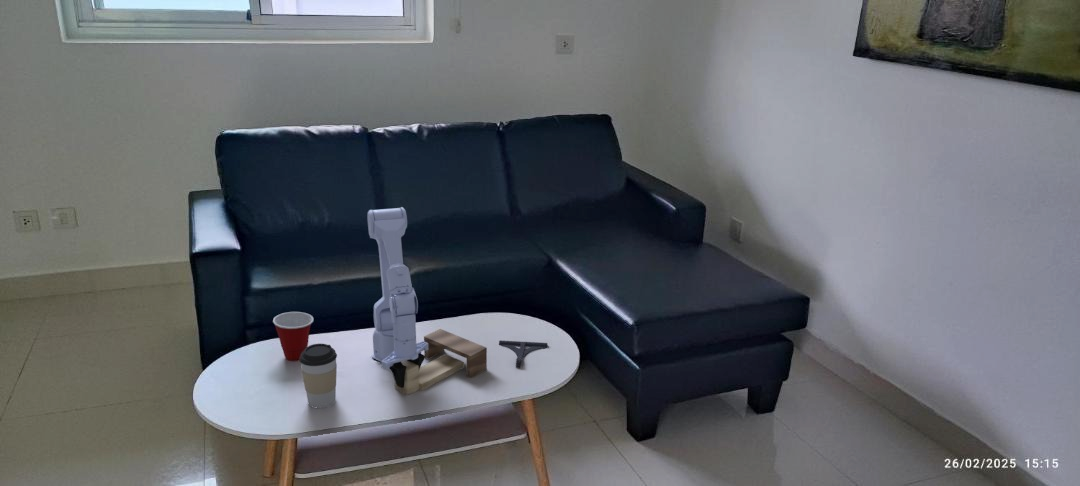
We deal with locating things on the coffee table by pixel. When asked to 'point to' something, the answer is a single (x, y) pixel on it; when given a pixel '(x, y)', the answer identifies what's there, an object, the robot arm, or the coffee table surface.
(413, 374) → the oak l-shaped block
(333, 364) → the coffee cup
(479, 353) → the walnut shelf
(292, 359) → the plastic cup
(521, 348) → the bracket
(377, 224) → the robot arm
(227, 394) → the coffee table surface
